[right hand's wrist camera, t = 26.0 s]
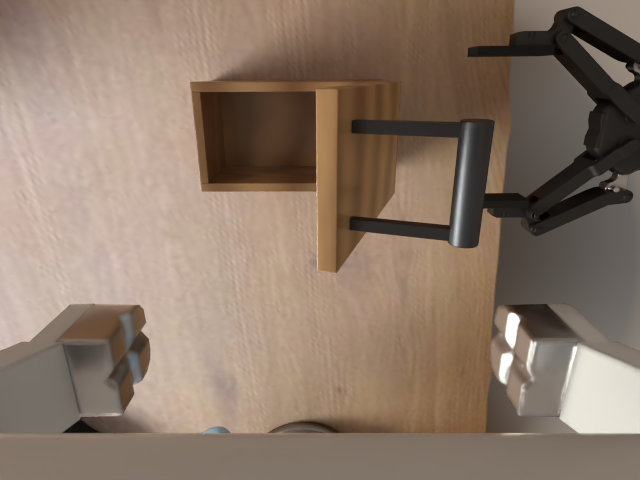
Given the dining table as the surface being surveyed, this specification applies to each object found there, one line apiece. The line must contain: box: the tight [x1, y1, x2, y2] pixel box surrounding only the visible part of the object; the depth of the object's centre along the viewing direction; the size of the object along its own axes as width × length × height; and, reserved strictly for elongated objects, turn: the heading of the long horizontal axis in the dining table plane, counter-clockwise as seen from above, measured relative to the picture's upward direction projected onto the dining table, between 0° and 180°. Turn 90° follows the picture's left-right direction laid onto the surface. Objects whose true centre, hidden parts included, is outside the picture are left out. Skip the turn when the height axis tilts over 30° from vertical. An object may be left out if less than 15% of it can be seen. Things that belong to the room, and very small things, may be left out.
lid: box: [316, 82, 494, 273], centre depth 30 cm, size 18×10×8 cm
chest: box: [190, 80, 392, 192], centre depth 44 cm, size 18×10×9 cm, turn 90°
